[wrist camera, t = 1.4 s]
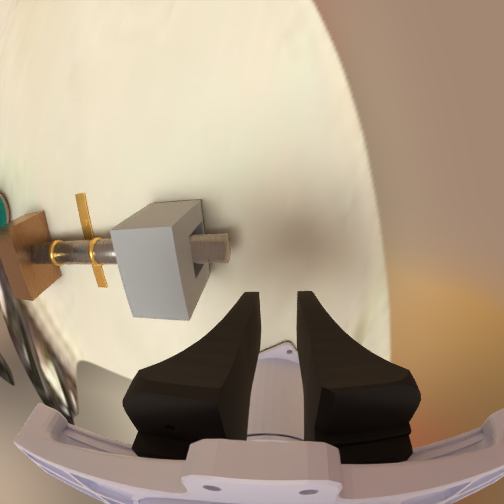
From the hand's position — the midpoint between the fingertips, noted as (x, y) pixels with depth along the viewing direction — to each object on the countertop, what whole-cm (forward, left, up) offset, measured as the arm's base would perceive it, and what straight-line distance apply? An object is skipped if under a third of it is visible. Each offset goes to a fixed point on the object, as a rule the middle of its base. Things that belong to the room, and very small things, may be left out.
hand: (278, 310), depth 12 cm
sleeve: (+4, +6, -9) cm, 12 cm away
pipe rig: (+7, +12, -9) cm, 17 cm away
